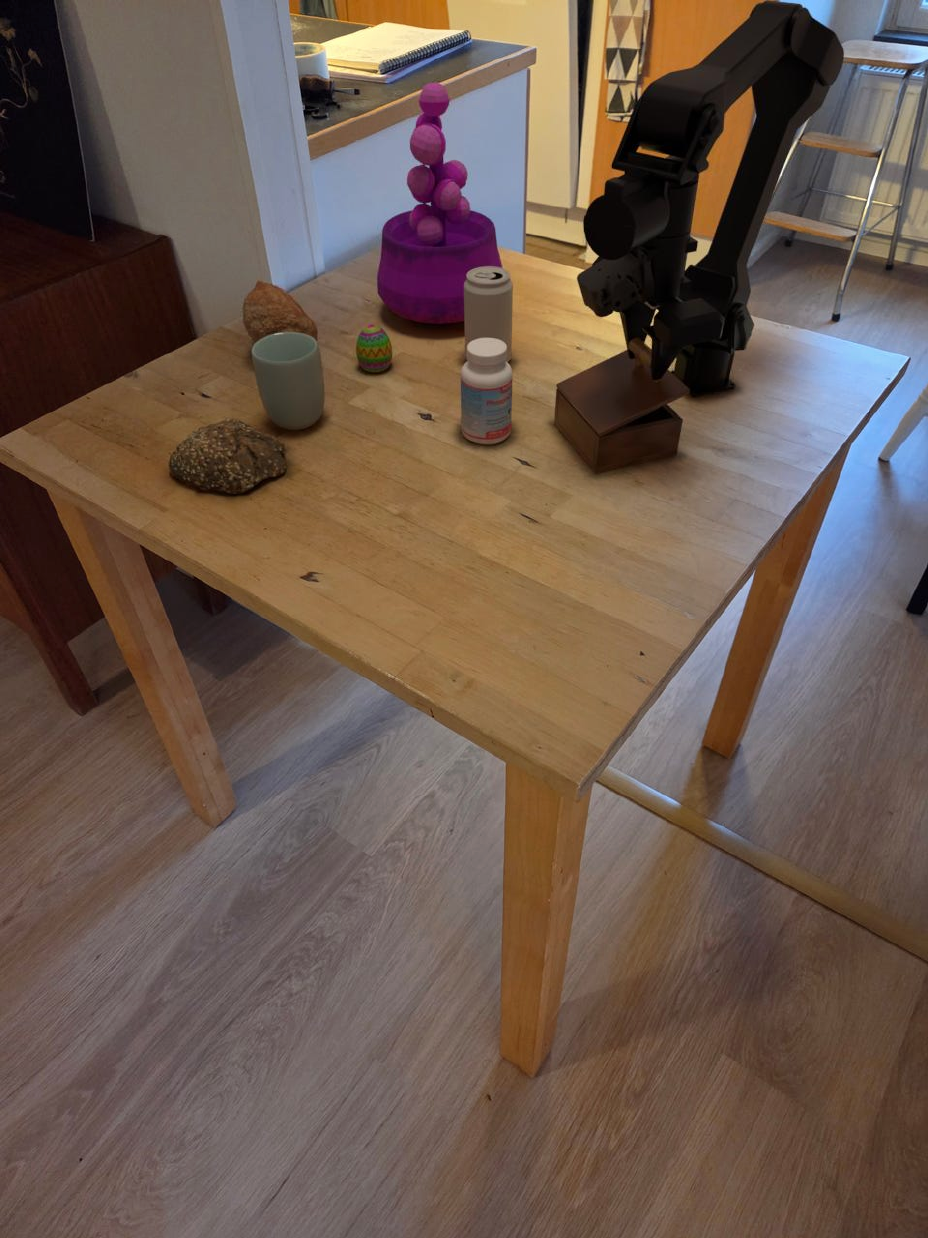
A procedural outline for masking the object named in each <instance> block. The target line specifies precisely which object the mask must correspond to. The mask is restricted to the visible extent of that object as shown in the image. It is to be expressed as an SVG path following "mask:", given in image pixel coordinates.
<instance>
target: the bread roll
mask: <svg viewBox="0 0 928 1238" xmlns="http://www.w3.org/2000/svg"><path fill="white" fill-rule="evenodd" d="M285 446H286V444H285V443H284V442H283V441H280V440H279V439H278V438H276V437H275V436H273V435H270V434H266V432H263V431H259V430H257V429H254V427H253V426H251V425H249V424H247V423H245V421H243V420H241V419H235V418H234V417H230V418H227V419H223V420H221V421H219V422H218V421H216V422H213V423H210V424H209V425H206V426H200V427H199V428H197V429H195V430H192V431H191V432H190V433H189V434H188V435H187V436H186V438H185V439H181V440H180V443H177V444H176V450H173V451H172V453H171V455H170V457H169V460H168V468H169V471H170V473H171V476H173V477H175V478H177V479H178V480H179V481H180V482H182V484H183V483H184V484H188V485H189V486H192V487H194V488H197V489H199V490H200V491H204V492H219V493H225V494H230V495H240V494H243V493H246V492H247V491H249V490H252V489H253V488H254V487H255V486H257V485H258V484H260V483H261V482H262V480H266V479H268V478H277V477H279V476H281V475H283V474H285V472H286V469H287V462H286V459H285V458H284V457H283V455H284V454H285V453H286V447H285Z"/></svg>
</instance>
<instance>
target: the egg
mask: <svg viewBox="0 0 928 1238" xmlns="http://www.w3.org/2000/svg"><path fill="white" fill-rule="evenodd" d="M355 345H356V346H355V355H356V358H357V361H358V363H359V365H360V366H361V368H362V369H363V370H364V371H366V372H367V373H372V374H373V373H374V374H375V373H382V372H384V371H386V370H387V369H388V368H389V366H390V364H391V362H392V360H393V346H392V341H391V339H390V338H389V335H388V334H387V332H386V331H385V330H384V329H383V328H382V327H381V326H380V325H378V324H374V323H370V324H367V325H365V326H364V328H362V330H361V331H360V332H359V335H358V337H357V339H356V343H355Z"/></svg>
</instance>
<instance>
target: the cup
mask: <svg viewBox="0 0 928 1238" xmlns="http://www.w3.org/2000/svg"><path fill="white" fill-rule="evenodd" d="M250 354H251V360H252V366H253V372H254V376H255V380H256V381H255V382H256V385H257V389H258V390H257V391H258V393H259V397H260V401H261V404H262V406H263V409H264V411H265V414H266V416H268V419H269V420H270V421H271V422H272V423H273V424H275V425H276V426H277V427H279V428H282V429H284V430H289V431H299V430H304V429H307V428H309V427H312V426H313V425H314V424H315V423H317V422H318V421H319V419H320V418H321V416H322V415H323V412H324V407H325V400H326V399H325V398H326V391H325V379H324V371H323V365H322V364H323V363H322V357H321V351H320V346H319V342H318V340H317V341H316V340H315V339H314V338H313V337H311V336H309V335H307V334H303V333H297V332H280V333H275V334H271V335H268V336H266V337H264V338H262V339H260V340H259V341H257V342H256V343H255V342H254V344H253V346H252V347H251V351H250Z"/></svg>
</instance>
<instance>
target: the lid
mask: <svg viewBox="0 0 928 1238" xmlns="http://www.w3.org/2000/svg"><path fill="white" fill-rule="evenodd" d="M629 349H630V350H631V351H632V352H633V353H634V357H635V359H630V358H629V356H628V351H627V349H626V350H623V351H621V352H619V353H618V354H615V355H613V356H611V357H609V358H607V359H604V360H603V361H601V362H598V363H597V364H594V365H592V366H591V367H589V368H586V369H584V370H582V371H580V372H579V373H576V374H574V375H572V376H570V377H568V378H566V379H564V380H561V381H559V382H557V383H556V385H555V386H556V389H558V390H559V391H560V392H561V393H562V394H563V395H564V396H565V398H566V399H567V400H568V401H569V402H570V403H571V404H572V405H573V407H574V408H575V409H576V410H577V411H578V412H579V413H580V414H581V416H582V417H583V418H584V419H585V420H586V421H587V422H588V423H589V425H590V426H591V427H592V428H593V429H594V430H595V431H596V432H597V434H598V435H599V436H600V437H601V436H603V435H605V434H607V433H609V432H611V431H613V430H615V429H617V428H619V427H621V426H623V425H625V424H627V423H630V422H632V421H634V420H636V419H638V418H640V417H642V416H644V415H646V414H648V413H650V412H652V411H654V410H656V409H658V408H660V407H662V406H664V405H666V404H667V405H668V404H671V403H672V402H675V401H676V400H679V399H680V398H682V397H684V396H687V395H689V393H690V390H689V388H688V387H687V386H686V385H684V384H683V383H682V382H681V381H680V380H679V379H678V378H677V377H676V376H674V375H673V374H672V373H671V372H670V371H671V370H669V369H668V370H667V371H666V373H665V374H664V376H663V377H662V378H661V379H659V380H652V378H651V350H652V347H651V346H649V345H648V344H646V342H645V343H644V342H643V341H642V340H641V339H639V338H633V339H632V340H631V341H630V342H629Z"/></svg>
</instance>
